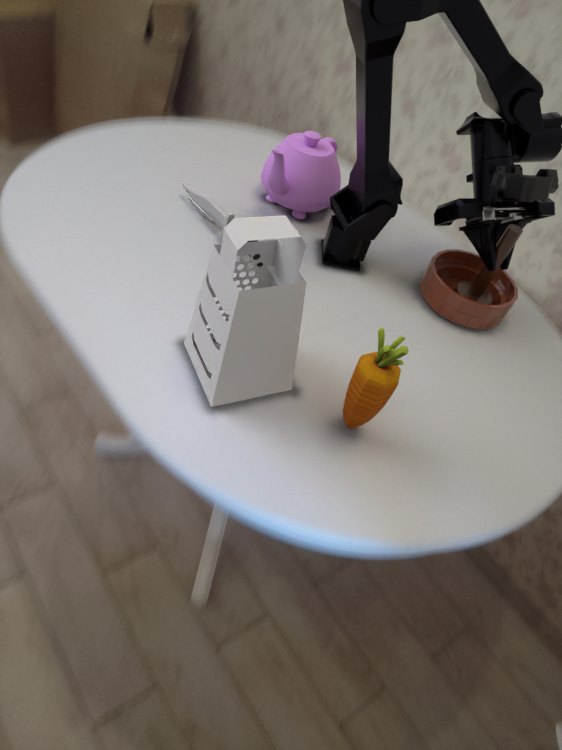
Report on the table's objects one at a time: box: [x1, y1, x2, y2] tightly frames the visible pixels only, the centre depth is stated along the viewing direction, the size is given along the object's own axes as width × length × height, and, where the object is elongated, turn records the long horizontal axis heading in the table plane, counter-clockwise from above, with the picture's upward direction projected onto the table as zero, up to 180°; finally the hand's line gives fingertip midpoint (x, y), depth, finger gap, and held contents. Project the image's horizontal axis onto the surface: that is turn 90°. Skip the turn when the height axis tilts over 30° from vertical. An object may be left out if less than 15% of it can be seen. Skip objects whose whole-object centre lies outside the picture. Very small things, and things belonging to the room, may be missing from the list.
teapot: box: [260, 130, 342, 220], centre depth 88 cm, size 20×14×12 cm
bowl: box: [419, 248, 519, 330], centre depth 82 cm, size 14×14×5 cm
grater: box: [183, 215, 307, 408], centre depth 57 cm, size 10×10×20 cm
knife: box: [181, 180, 263, 268], centre depth 80 cm, size 25×2×5 cm, turn 37°
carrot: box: [342, 327, 409, 430], centre depth 56 cm, size 5×5×15 cm
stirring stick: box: [455, 224, 524, 305], centre depth 78 cm, size 6×6×13 cm
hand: (498, 270), depth 77 cm, fingers closed on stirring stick, 2 cm apart
